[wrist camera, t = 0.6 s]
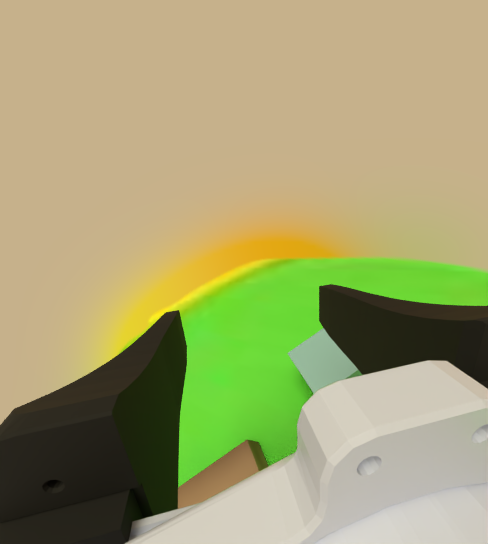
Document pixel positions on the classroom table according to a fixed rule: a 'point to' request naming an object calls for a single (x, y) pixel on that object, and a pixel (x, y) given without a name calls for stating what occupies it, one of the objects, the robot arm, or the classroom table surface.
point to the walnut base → (223, 474)
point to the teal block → (322, 361)
